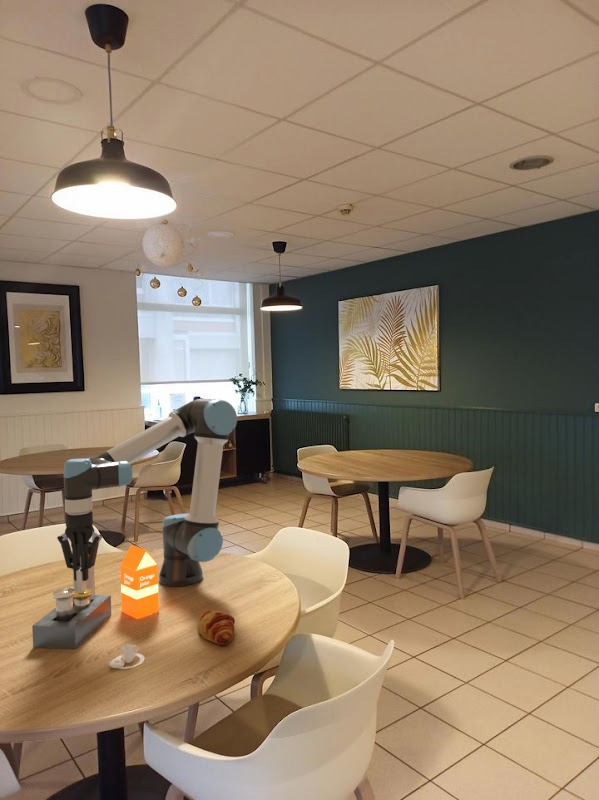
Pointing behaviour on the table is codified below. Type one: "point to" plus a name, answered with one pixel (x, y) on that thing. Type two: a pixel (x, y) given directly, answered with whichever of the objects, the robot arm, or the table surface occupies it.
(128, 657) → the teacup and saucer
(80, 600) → the knob
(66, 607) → the knob
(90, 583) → the travel mug
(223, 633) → the croissant
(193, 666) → the table surface
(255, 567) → the table surface
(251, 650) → the table surface
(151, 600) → the orange juice
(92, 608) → the mount
